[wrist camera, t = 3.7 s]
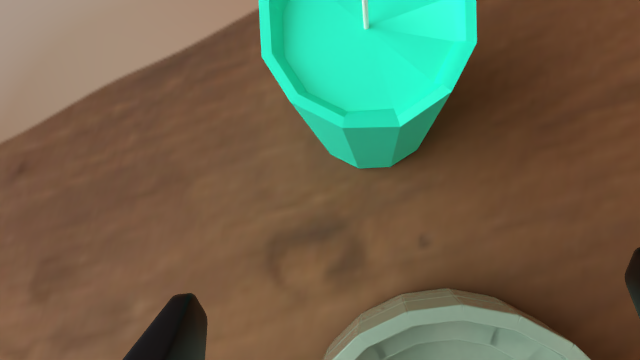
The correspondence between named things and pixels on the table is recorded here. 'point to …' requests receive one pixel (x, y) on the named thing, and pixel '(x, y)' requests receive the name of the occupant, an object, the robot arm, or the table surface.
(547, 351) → the bowl
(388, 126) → the candle
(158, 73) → the table surface
